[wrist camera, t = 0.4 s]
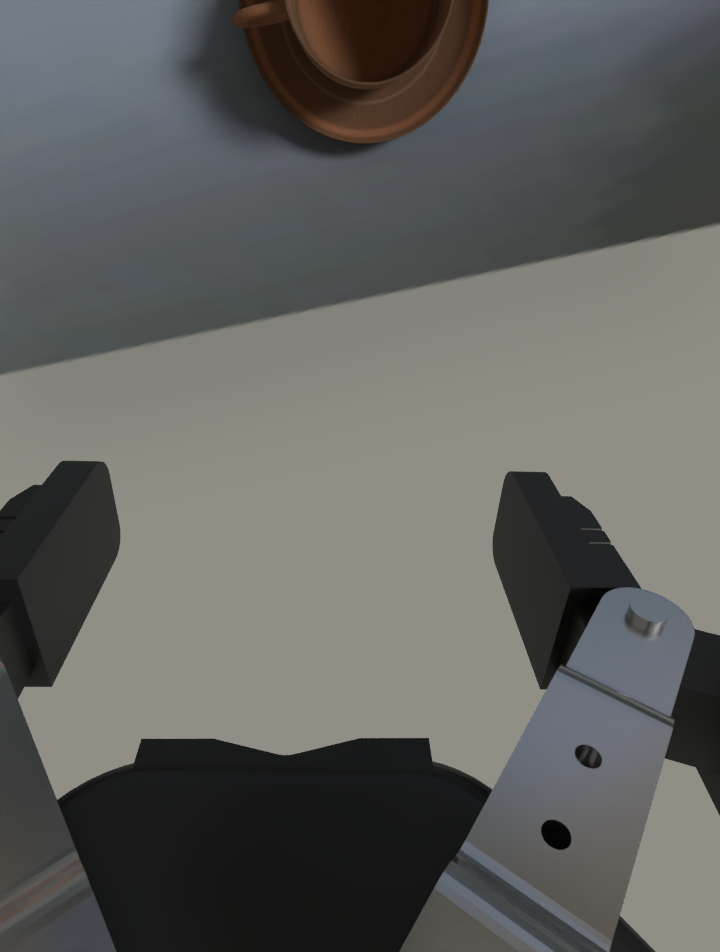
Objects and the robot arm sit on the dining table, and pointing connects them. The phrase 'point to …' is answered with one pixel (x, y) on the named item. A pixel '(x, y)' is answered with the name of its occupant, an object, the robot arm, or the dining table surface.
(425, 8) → the cup and saucer
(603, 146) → the dining table surface
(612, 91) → the dining table surface
